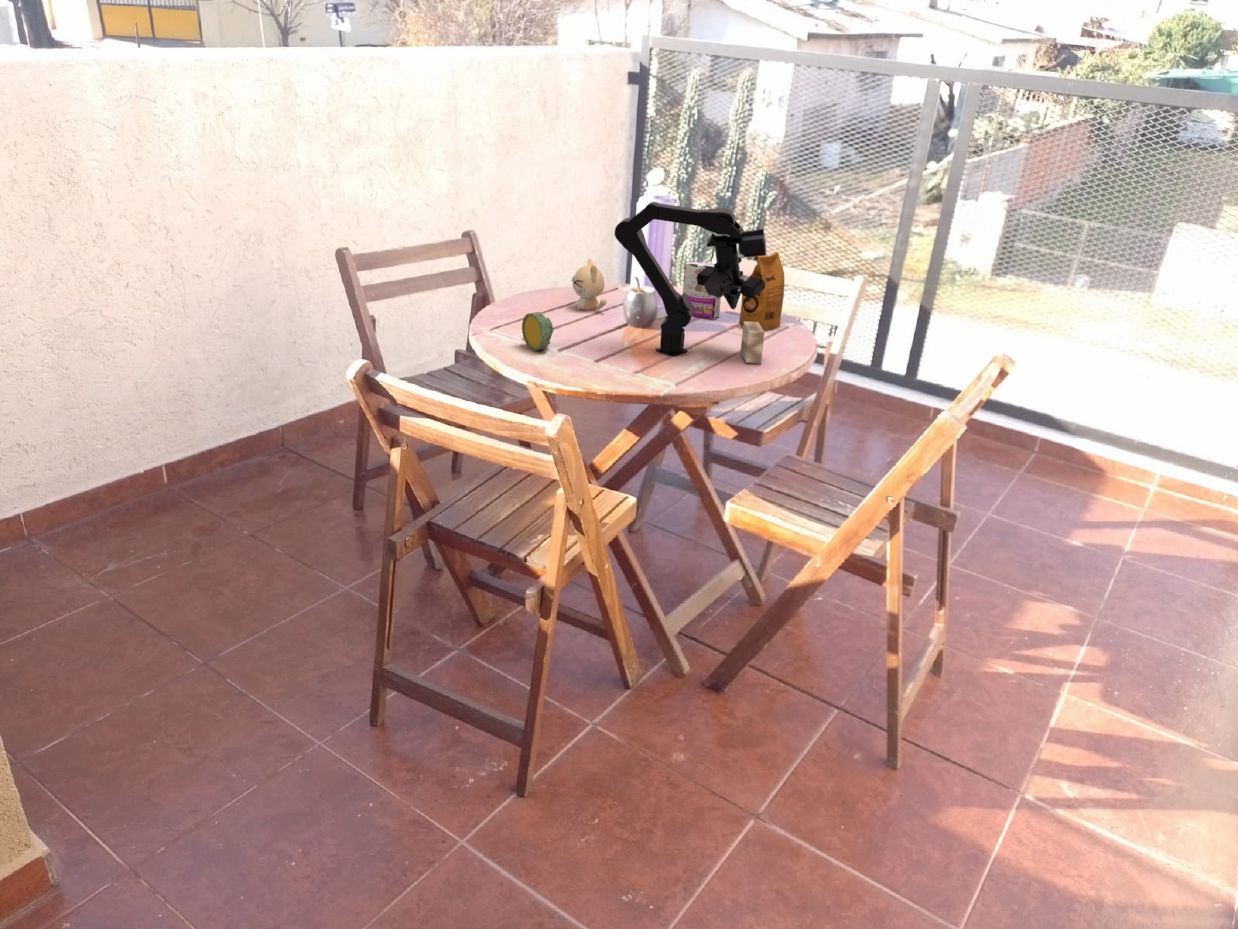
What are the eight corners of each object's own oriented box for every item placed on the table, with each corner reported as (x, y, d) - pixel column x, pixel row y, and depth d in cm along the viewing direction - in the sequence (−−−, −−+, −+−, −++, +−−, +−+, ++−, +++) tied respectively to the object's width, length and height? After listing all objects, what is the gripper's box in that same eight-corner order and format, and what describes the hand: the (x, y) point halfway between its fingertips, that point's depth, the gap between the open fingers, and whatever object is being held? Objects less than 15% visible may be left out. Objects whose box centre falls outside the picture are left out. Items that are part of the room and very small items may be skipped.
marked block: (745, 364, 240) (749, 331, 236) (740, 352, 249) (743, 321, 245) (760, 365, 240) (764, 332, 236) (754, 353, 249) (758, 321, 245)
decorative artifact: (521, 345, 248) (521, 309, 243) (543, 341, 252) (543, 306, 247) (542, 354, 241) (542, 318, 236) (563, 350, 245) (564, 314, 240)
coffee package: (733, 326, 273) (740, 253, 264) (759, 319, 281) (766, 248, 272) (759, 333, 266) (767, 259, 257) (784, 326, 274) (793, 254, 265)
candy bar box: (719, 317, 282) (724, 264, 275) (713, 320, 278) (718, 267, 271) (687, 311, 286) (690, 259, 279) (680, 314, 282) (684, 262, 275)
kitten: (568, 302, 290) (569, 256, 284) (599, 302, 292) (600, 256, 286) (575, 315, 277) (575, 266, 271) (607, 315, 279) (608, 266, 272)
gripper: (680, 266, 237) (688, 316, 247) (738, 280, 226) (745, 332, 236) (705, 245, 242) (712, 295, 252) (763, 258, 231) (768, 310, 241)
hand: (733, 308), depth 245 cm, fingers closed
